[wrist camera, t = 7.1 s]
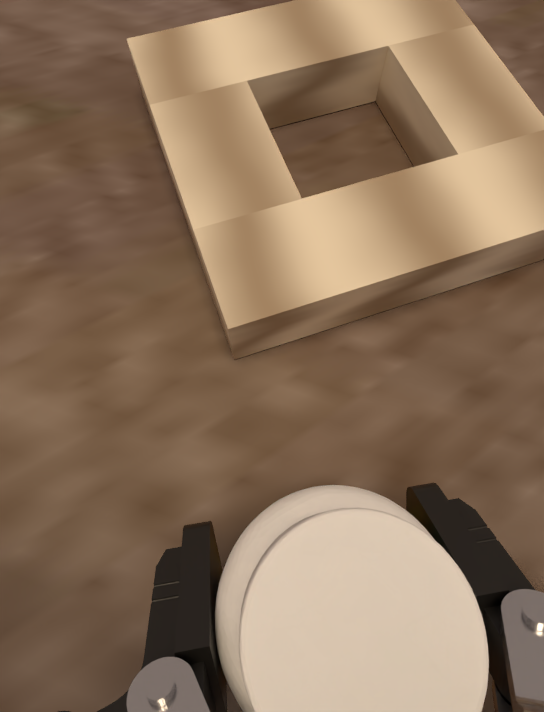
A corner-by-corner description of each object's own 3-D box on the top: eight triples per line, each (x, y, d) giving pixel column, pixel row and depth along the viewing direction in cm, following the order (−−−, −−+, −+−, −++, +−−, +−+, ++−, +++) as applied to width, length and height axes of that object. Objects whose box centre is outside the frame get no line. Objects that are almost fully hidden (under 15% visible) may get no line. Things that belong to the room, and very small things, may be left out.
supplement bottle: (422, 588, 16) (607, 640, 7) (316, 720, 15) (386, 984, 6) (310, 475, 18) (351, 404, 9) (203, 587, 16) (122, 637, 7)
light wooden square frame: (234, 359, 20) (228, 329, 17) (142, 94, 25) (126, 38, 22) (568, 251, 22) (612, 208, 19) (415, 28, 27) (431, -32, 24)
